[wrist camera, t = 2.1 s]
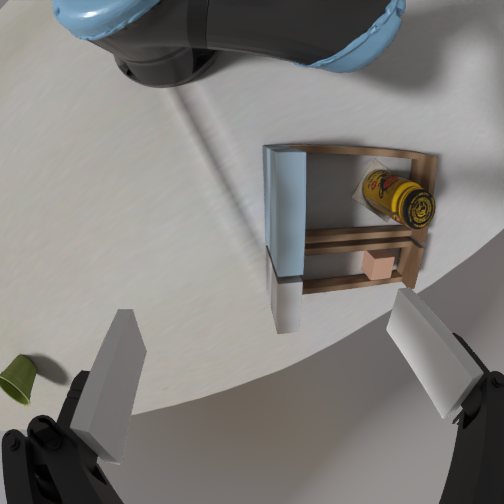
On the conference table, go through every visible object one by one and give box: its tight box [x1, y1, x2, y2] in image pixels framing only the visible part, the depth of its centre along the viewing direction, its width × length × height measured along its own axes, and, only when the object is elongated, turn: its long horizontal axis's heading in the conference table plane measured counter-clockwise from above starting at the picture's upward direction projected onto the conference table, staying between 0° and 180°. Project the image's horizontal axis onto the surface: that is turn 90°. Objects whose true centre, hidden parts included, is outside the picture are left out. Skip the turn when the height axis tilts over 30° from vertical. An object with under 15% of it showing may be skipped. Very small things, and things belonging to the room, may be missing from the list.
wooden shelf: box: [263, 145, 437, 277], centre depth 35 cm, size 26×14×11 cm, turn 93°
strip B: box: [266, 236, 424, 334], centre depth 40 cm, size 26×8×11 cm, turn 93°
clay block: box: [362, 249, 395, 280], centre depth 44 cm, size 4×4×4 cm
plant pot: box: [0, 355, 37, 406], centre depth 47 cm, size 12×12×11 cm
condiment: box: [352, 159, 435, 229], centre depth 35 cm, size 7×8×12 cm
